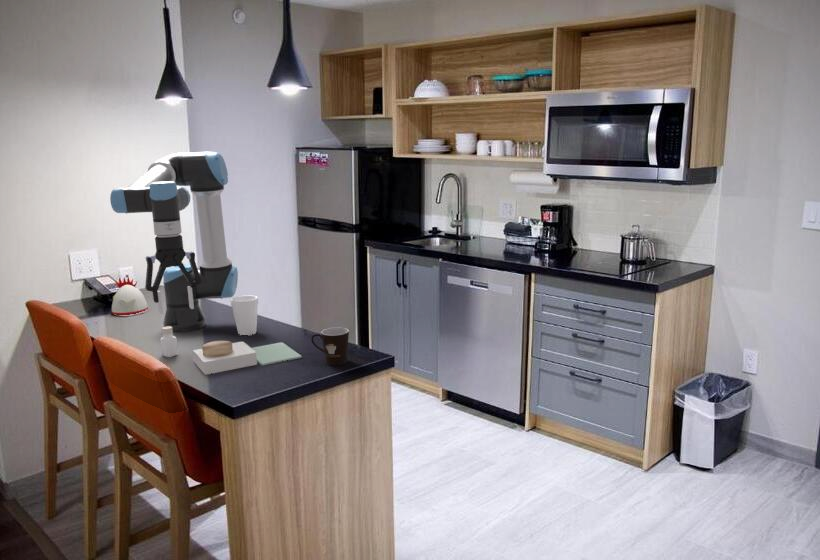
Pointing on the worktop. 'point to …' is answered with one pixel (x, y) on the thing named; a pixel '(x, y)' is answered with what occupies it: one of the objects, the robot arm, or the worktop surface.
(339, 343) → the coffee mug
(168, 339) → the pepper shaker
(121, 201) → the robot arm
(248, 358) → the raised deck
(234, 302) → the foam cup
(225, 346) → the tan flat disc
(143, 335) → the worktop surface
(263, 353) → the rubber mat
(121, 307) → the white dome hat
